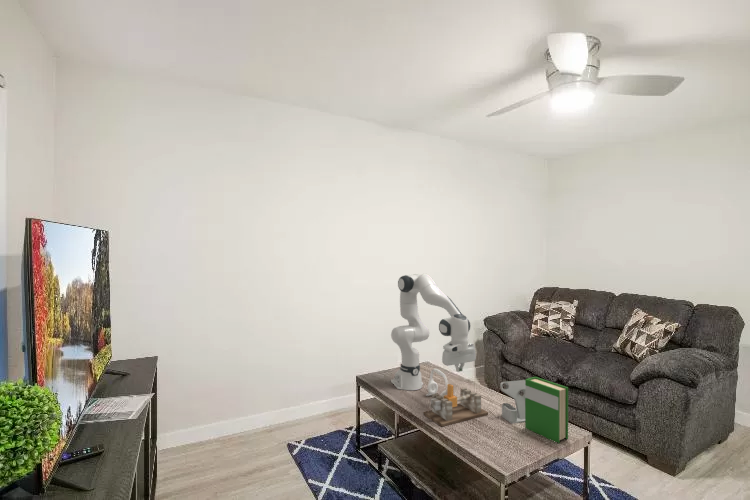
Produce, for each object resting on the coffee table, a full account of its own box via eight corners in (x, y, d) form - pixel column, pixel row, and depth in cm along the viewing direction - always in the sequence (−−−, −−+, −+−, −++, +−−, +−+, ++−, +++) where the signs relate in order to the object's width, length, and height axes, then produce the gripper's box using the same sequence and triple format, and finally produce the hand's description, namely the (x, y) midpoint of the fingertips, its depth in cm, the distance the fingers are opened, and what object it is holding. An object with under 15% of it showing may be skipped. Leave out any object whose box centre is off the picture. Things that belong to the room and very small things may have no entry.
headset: (453, 407, 216) (453, 375, 216) (441, 408, 214) (441, 376, 214) (435, 394, 235) (435, 364, 235) (425, 395, 233) (425, 365, 232)
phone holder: (510, 423, 196) (510, 388, 196) (499, 415, 206) (499, 381, 205) (540, 420, 200) (540, 385, 200) (528, 411, 210) (528, 378, 210)
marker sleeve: (443, 404, 205) (443, 384, 205) (451, 403, 208) (451, 382, 208) (449, 408, 201) (449, 387, 201) (457, 406, 203) (457, 385, 203)
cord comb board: (423, 414, 206) (423, 394, 206) (467, 404, 220) (467, 385, 220) (442, 427, 192) (442, 405, 192) (488, 414, 206) (488, 395, 206)
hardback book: (568, 439, 180) (568, 387, 180) (558, 443, 176) (558, 390, 176) (535, 424, 195) (535, 376, 195) (525, 427, 191) (525, 379, 191)
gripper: (470, 341, 214) (470, 366, 215) (440, 346, 205) (440, 372, 205) (478, 344, 209) (478, 370, 209) (448, 349, 199) (447, 376, 200)
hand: (459, 371), depth 207 cm, fingers closed
